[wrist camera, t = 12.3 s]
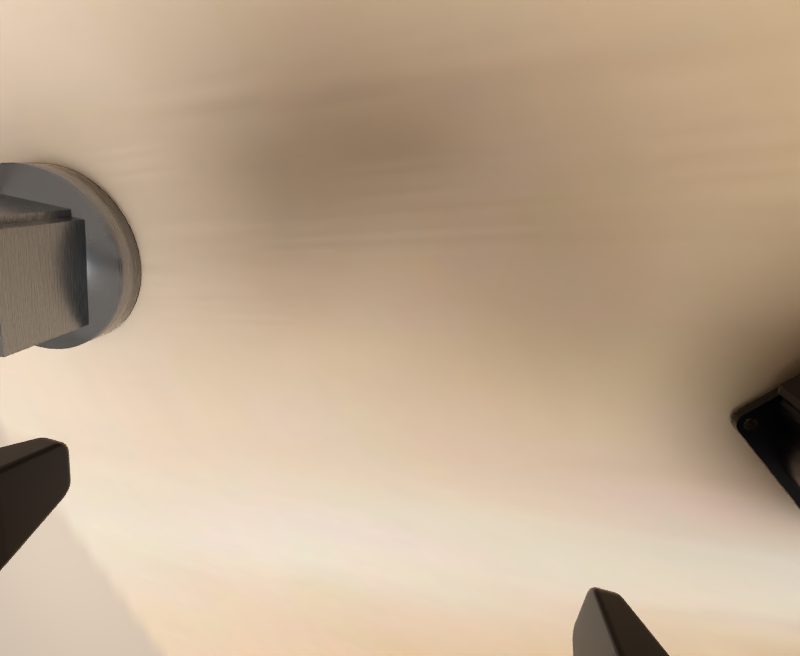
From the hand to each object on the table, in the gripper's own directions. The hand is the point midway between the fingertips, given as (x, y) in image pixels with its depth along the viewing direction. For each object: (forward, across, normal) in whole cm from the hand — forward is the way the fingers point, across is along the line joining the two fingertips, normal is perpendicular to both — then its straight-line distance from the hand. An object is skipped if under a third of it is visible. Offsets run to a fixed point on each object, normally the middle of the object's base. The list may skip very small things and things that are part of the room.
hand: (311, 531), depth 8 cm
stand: (+13, +17, +1) cm, 21 cm away
